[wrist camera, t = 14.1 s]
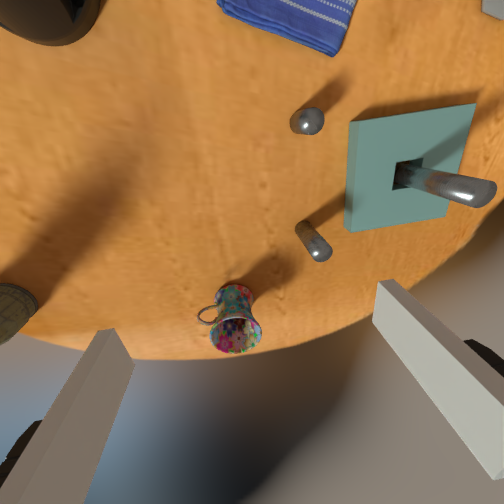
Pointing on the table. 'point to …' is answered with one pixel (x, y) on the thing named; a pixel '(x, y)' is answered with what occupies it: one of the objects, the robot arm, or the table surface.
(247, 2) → the dish towel
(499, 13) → the wineglass
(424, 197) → the hole block
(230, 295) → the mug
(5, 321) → the thermos
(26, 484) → the robot arm
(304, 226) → the medium pin
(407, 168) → the long pin
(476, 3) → the table surface
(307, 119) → the short pin
